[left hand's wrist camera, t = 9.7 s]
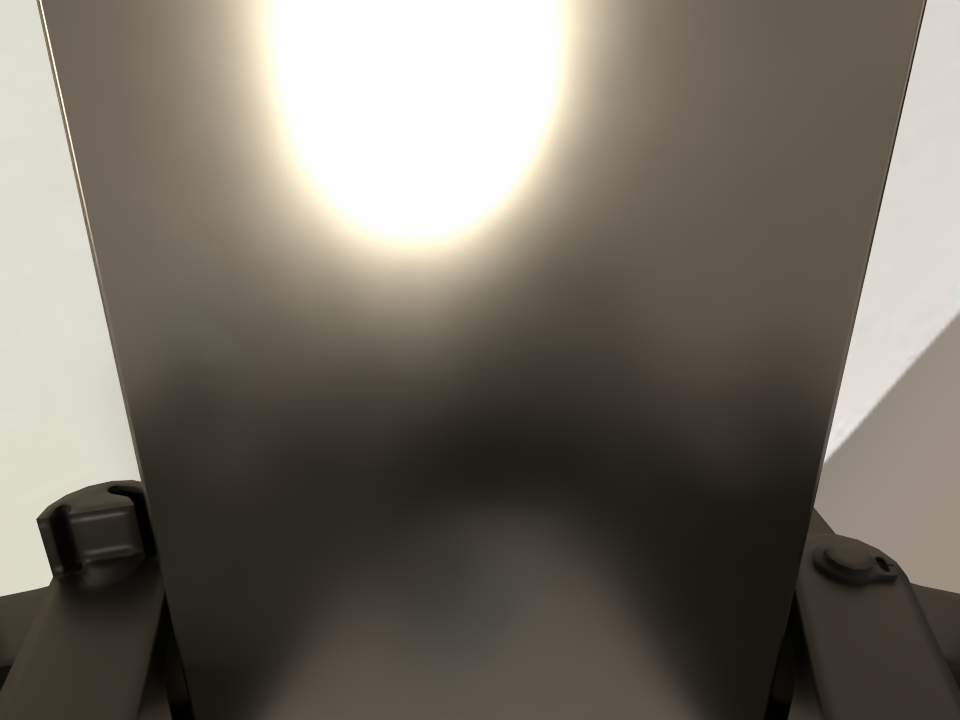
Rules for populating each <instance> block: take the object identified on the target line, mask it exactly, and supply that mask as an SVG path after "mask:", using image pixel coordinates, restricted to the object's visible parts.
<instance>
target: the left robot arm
mask: <svg viewBox="0 0 960 720" xmlns="http://www.w3.org/2000/svg"><path fill="white" fill-rule="evenodd" d="M36 520H37V523H38V527H39V530H40V533H41V537H42V540H43V544H44V547H45V550H46V554H47V557H48V560H49V564H50V567H51V571H52V574H53V578H52V581H51V583H50V585H49V586H47V587H43V588H40V589H35V590H31V591H26V592H21V593H16V594H11V595H6V596H1V597H0V720H193V717H192V712H191V708H190V703H189V699H188V694H187V689H186V685H185V680H184V676H183V671H182V666H181V662H180V657H179V653H178V648H177V643H176V639H175V634H174V630H173V625H172V621H171V616H170V611H169V607H168V602H167V598H166V593H165V588H164V584H163V579H162V575H161V570H160V565H159V561H158V556H157V552H156V547H155V542H154V538H153V533H152V529H151V524H150V519H149V515H148V510H147V506H146V501H145V496H144V492H143V487H142V483H141V482H140V481H135V480H125V481H110V482H105V483H101V484H96V485H92V486H88V487H85V488H83V489H80V490H78V491H75V492H73V493H70V494H68V495H66V496H64V497H62V498H61V499H59V500H58V501H56V502H54V503H53V504H51V505H49V506H48V507H47V508H46V509H45V510H44V511H43V512H42V513H41V515H40V516H39V517H38V518H37V519H36ZM766 720H960V594H958V593H953V592H948V591H943V590H938V589H934V588H929V587H924V586H920V585H916V584H912V583H910V582H909V579H908V577H907V575H906V574H905V573H904V571H903V570H902V569H901V568H900V566H899V565H898V564H897V562H895V561H894V560H893V559H891V558H890V557H889V556H887V555H886V554H884V553H883V552H882V551H880V550H879V549H877V548H875V547H872V546H870V545H868V544H866V543H864V542H861V541H859V540H857V539H852V538H849V537H845V536H841V535H837V534H835V533H834V532H833V530H832V529H831V528H830V527H829V525H828V524H827V523H826V522H825V521H824V519H823V518H822V517H821V516H820V514H819V513H818V512H817V511H816V510H815V508H814V507H813V511H812V515H811V520H810V524H809V529H808V533H807V538H806V542H805V547H804V551H803V556H802V560H801V565H800V569H799V573H798V578H797V582H796V587H795V591H794V596H793V600H792V605H791V609H790V614H789V618H788V623H787V627H786V632H785V636H784V640H783V645H782V649H781V654H780V658H779V663H778V667H777V672H776V676H775V681H774V685H773V690H772V694H771V699H770V703H769V707H768V712H767V716H766Z"/></svg>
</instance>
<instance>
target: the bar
mask: <svg viewBox="0 0 960 720" xmlns="http://www.w3.org/2000/svg"><path fill="white" fill-rule="evenodd" d="M926 2H927V0H37V5H38V9H39V14H40V18H41V23H42V28H43V32H44V37H45V41H46V46H47V51H48V55H49V60H50V64H51V69H52V74H53V78H54V83H55V87H56V92H57V97H58V101H59V106H60V110H61V115H62V120H63V124H64V129H65V133H66V138H67V142H68V147H69V152H70V156H71V161H72V165H73V170H74V175H75V179H76V184H77V188H78V193H79V198H80V202H81V207H82V211H83V216H84V221H85V225H86V230H87V234H88V239H89V244H90V248H91V253H92V257H93V262H94V267H95V271H96V276H97V280H98V285H99V290H100V294H101V299H102V303H103V308H104V313H105V317H106V322H107V326H108V331H109V336H110V340H111V345H112V349H113V354H114V359H115V363H116V368H117V372H118V377H119V382H120V386H121V391H122V395H123V400H124V404H125V409H126V414H127V418H128V423H129V427H130V432H131V437H132V441H133V446H134V450H135V455H136V460H137V464H138V469H139V473H140V478H141V483H142V487H143V492H144V496H145V501H146V506H147V510H148V515H149V519H150V524H151V529H152V533H153V538H154V542H155V547H156V552H157V556H158V561H159V565H160V570H161V575H162V579H163V584H164V588H165V593H166V598H167V602H168V607H169V611H170V616H171V621H172V625H173V630H174V634H175V639H176V643H177V648H178V653H179V657H180V662H181V666H182V671H183V676H184V680H185V685H186V689H187V694H188V699H189V703H190V708H191V712H192V717H193V720H766V716H767V712H768V707H769V703H770V699H771V694H772V690H773V685H774V681H775V676H776V672H777V667H778V663H779V658H780V654H781V649H782V645H783V640H784V636H785V632H786V627H787V623H788V618H789V614H790V609H791V605H792V600H793V596H794V591H795V587H796V582H797V578H798V573H799V569H800V565H801V560H802V556H803V551H804V547H805V542H806V538H807V533H808V529H809V524H810V520H811V515H812V511H813V506H814V502H815V498H816V493H817V489H818V484H819V480H820V475H821V471H822V466H823V462H824V457H825V453H826V448H827V444H828V439H829V435H830V431H831V426H832V422H833V417H834V413H835V408H836V404H837V399H838V395H839V390H840V386H841V381H842V377H843V373H844V368H845V364H846V359H847V355H848V350H849V346H850V341H851V337H852V332H853V328H854V323H855V319H856V314H857V310H858V306H859V301H860V297H861V292H862V288H863V283H864V279H865V274H866V270H867V265H868V261H869V256H870V252H871V247H872V243H873V239H874V234H875V230H876V225H877V221H878V216H879V212H880V207H881V203H882V198H883V194H884V189H885V185H886V180H887V176H888V172H889V167H890V163H891V158H892V154H893V149H894V145H895V140H896V136H897V131H898V127H899V122H900V118H901V113H902V109H903V105H904V100H905V96H906V91H907V87H908V82H909V78H910V73H911V69H912V64H913V60H914V55H915V51H916V46H917V42H918V38H919V33H920V29H921V24H922V20H923V15H924V11H925V6H926Z"/></svg>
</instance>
